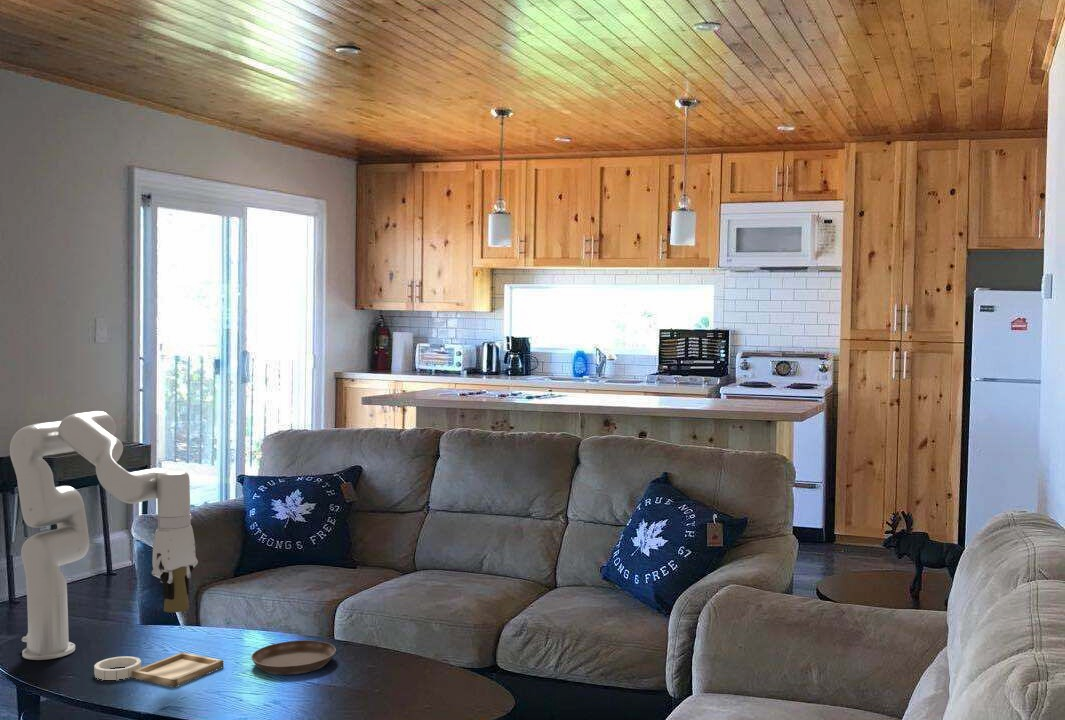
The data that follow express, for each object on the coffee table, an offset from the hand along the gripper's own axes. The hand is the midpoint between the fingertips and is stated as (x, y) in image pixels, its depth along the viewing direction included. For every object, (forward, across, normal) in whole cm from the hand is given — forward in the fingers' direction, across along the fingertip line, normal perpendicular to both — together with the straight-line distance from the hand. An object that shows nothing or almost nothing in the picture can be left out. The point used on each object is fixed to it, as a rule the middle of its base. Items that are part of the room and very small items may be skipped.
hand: (176, 595), depth 265 cm
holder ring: (+19, +7, -13) cm, 24 cm away
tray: (+19, 0, 0) cm, 19 cm away
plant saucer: (+20, -18, +21) cm, 34 cm away
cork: (+3, 0, 0) cm, 3 cm away
